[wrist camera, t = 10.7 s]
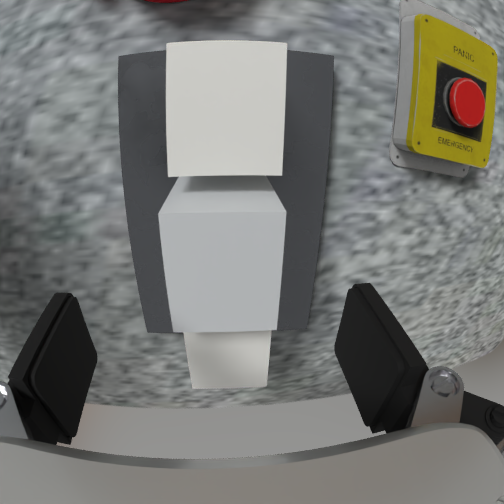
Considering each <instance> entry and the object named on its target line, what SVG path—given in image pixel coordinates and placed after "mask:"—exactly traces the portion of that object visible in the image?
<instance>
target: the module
mask: <svg viewBox="0 0 504 504" xmlns="http://www.w3.org/2000/svg"><path fill="white" fill-rule="evenodd" d="M158 217H159V228H160V238H161V247H162V256H163V264H164V272H165V280H166V287H167V294H168V301H169V308H170V314H171V321H172V327H173V332H242V331H267V330H277V321H278V311H279V300H280V288H281V277H282V264H283V252H284V239H285V225H286V210H285V208H284V207H283V205H282V203H281V201H280V199H279V198H278V196H277V194H276V192H275V191H274V189H273V187H272V185H271V184H270V182H269V180H268V178H267V177H266V175H218V176H181V177H179V178H178V179H177V181H176V183H175V184H174V186H173V188H172V190H171V191H170V193H169V195H168V197H167V199H166V200H165V202H164V204H163V206H162V208H161V210H160V211H159V213H158Z"/></svg>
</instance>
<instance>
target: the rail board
mask: <svg viewBox="0 0 504 504" xmlns="http://www.w3.org/2000/svg"><path fill="white" fill-rule="evenodd" d="M166 52H167V50H165V51H154V52H146V53H138V54H130V55H124V56H119V62H118V108H119V135H120V152H121V165H122V177H123V188H124V197H125V206H126V214H127V222H128V229H129V236H130V243H131V250H132V256H133V262H134V268H135V274H136V279H137V284H138V290H139V295H140V300H141V305H142V309H143V314H144V319H145V323H146V328H147V332H150V333H183V332H173V327H172V321H171V314H170V308H169V301H168V294H167V287H166V280H165V272H164V264H163V256H162V247H161V238H160V228H159V217H158V213H159V211H160V210H161V208H162V206H163V204H164V202H165V200H166V199H167V197H168V195H169V193H170V191H171V190H172V188H173V186H174V184H175V183H176V181H177V179H178V178H179V177H168V165H167V139H166ZM333 68H334V56H331V55H325V54H317V53H309V52H300V51H290V50H287V67H286V98H285V123H284V146H283V166H282V176H273V175H266V177H267V178H268V180H269V182H270V184H271V185H272V187H273V189H274V191H275V192H276V194H277V196H278V198H279V199H280V201H281V203H282V205H283V207H284V208H285V210H286V225H285V239H284V252H283V264H282V277H281V288H280V300H279V311H278V321H277V330H293V329H307V324H308V318H309V312H310V306H311V299H312V293H313V286H314V279H315V272H316V265H317V258H318V250H319V242H320V234H321V226H322V217H323V208H324V199H325V189H326V179H327V168H328V156H329V143H330V129H331V113H332V94H333ZM272 331H276V330H272Z"/></svg>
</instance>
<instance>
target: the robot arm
mask: <svg viewBox="0 0 504 504" xmlns="http://www.w3.org/2000/svg"><path fill="white" fill-rule="evenodd" d="M335 354H336V357H337V359H338V361H339V364H340V366H341V368H342V371H343V373H344V375H345V378H346V380H347V383H348V385H349V387H350V390H351V392H352V395H353V397H354V399H355V402H356V404H357V407H358V409H359V411H360V414H361V417H362V419H363V422H364V424H365V425H366V426H370V429H371V431H372V433H377V432H380V431H384V430H385V431H386V434H383V435H379V436H375V437H371V438H367V439H363V440H359V441H354V442H349V443H344V444H339V445H335V446H330V447H324V448H319V449H313V450H307V451H300V452H293V453H286V454H277V455H268V456H258V457H246V458H229V459H162V458H144V457H133V456H122V455H114V454H106V453H99V452H92V451H85V450H79V449H74V448H68V447H63V446H57V445H56V444H57V442H60V443H64V444H69V445H70V444H71V440H72V437H75V436H76V433H77V430H78V426H79V422H80V418H81V415H82V411H83V407H84V403H85V400H86V396H87V393H88V389H89V386H90V383H91V379H92V376H93V373H94V370H95V366H96V363H97V353H96V350H95V347H94V345H93V342H92V340H91V337H90V334H89V332H88V329H87V326H86V323H85V321H84V318H83V315H82V312H81V309H80V306H79V303H78V300H77V298H76V297H73V295H72V294H71V293H55V294H54V296H53V297H52V299H51V300H50V302H49V304H48V305H47V307H46V309H45V310H44V312H43V313H42V315H41V317H40V318H39V320H38V322H37V324H36V325H35V327H34V329H33V331H32V332H31V334H30V336H29V338H28V339H27V341H26V343H25V345H24V347H23V349H22V350H21V352H20V354H19V356H18V358H17V360H16V362H15V364H14V366H13V368H12V370H11V372H10V374H9V376H8V378H9V379H10V380H9V382H8V384H6V383H5V382H2V381H0V504H504V406H502V405H500V404H497V403H495V402H492V401H490V400H487V399H484V398H481V397H479V396H476V395H474V394H471V393H469V392H466V391H464V384H463V381H462V379H461V377H460V376H459V375H458V374H457V373H456V372H455V371H453V370H452V369H449V368H447V367H442V366H437V367H433V368H431V369H428V367H427V365H426V362H425V361H424V359H423V358H422V356H421V354H420V353H419V351H418V350H417V348H416V347H415V345H414V344H413V342H412V341H411V339H410V338H409V337H408V335H407V334H406V332H405V331H404V329H403V328H402V326H401V325H400V323H399V322H398V321H397V319H396V318H395V316H394V315H393V313H392V312H391V311H390V309H389V308H388V306H387V305H386V304H385V302H384V301H383V299H382V298H381V297H380V295H379V294H378V292H377V291H376V290H375V288H374V287H373V286H372V285H371V284H370V283H362V284H354V285H353V287H352V288H351V289H349V290H348V293H347V297H346V301H345V306H344V310H343V314H342V318H341V322H340V326H339V330H338V334H337V338H336V342H335Z"/></svg>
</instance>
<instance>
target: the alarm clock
mask: <svg viewBox="0 0 504 504" xmlns="http://www.w3.org/2000/svg"><path fill="white" fill-rule="evenodd" d="M145 1H150V2H158V3H172V2H181V1H187V0H145Z"/></svg>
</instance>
